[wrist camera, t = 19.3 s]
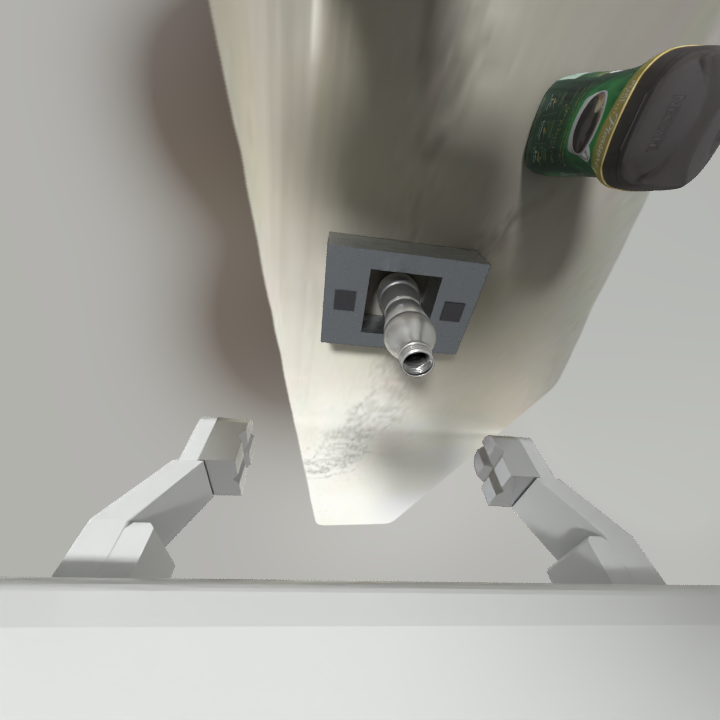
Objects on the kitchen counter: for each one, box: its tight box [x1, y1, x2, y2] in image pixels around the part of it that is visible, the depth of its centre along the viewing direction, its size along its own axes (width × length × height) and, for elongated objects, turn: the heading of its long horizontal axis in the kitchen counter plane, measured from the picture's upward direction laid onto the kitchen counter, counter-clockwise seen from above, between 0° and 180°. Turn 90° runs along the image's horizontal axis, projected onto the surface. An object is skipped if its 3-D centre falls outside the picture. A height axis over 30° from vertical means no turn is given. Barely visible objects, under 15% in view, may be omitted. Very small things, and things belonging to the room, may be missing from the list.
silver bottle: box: [377, 273, 436, 377], centre depth 41 cm, size 6×7×20 cm
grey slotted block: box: [321, 232, 491, 354], centre depth 47 cm, size 15×22×6 cm
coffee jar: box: [526, 45, 720, 191], centre depth 30 cm, size 10×8×19 cm
